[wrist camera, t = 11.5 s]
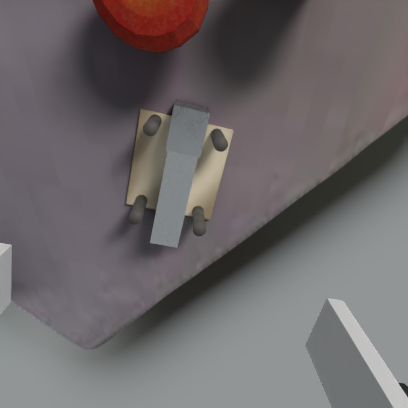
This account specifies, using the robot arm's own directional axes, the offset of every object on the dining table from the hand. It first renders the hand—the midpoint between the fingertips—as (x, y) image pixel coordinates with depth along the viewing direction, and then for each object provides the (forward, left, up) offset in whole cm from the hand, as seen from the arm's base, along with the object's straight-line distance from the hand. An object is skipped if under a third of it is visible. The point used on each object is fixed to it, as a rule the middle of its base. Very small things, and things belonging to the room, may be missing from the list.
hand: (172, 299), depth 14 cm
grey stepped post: (0, -4, -31) cm, 31 cm away
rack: (0, -3, -32) cm, 32 cm away
